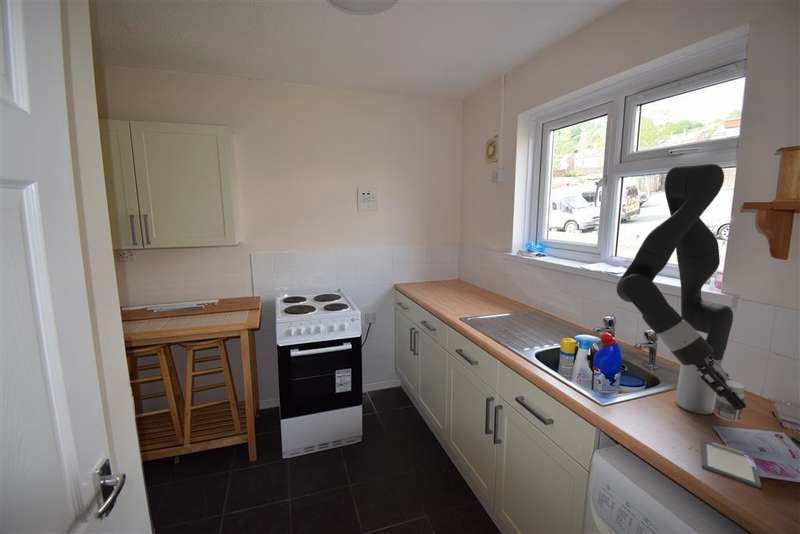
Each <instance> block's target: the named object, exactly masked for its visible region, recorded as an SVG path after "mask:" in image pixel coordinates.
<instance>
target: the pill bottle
mask: <svg viewBox="0 0 800 534" xmlns="http://www.w3.org/2000/svg"><path fill="white" fill-rule="evenodd" d="M727 384H728V385H729V386H730V387H731V388H732V389H733V391H734V392H735V393H736V394H737V395H738V397H739V398H740V399H741V400H742V401H743V402H744V403H745V394H744V392H745V386H744V385H743V384H742V383H740V382H737V381H734V380H731V381H730V380H727ZM719 388H720V390H723V389H724V388H723V387H722V386H721V387H719ZM713 413H714V414H715V415H716V416H717V417H719V418H720V419H723V420H725V421H731V422H740V420H741V419H742V413H743V409H740V410H736V409H735V408H734V407H733V406H732V405H731V404H730V403H729V402H728V401H727V400H726V398H725V397H724V396H722V397H720V396H718V395H717V394H716V400H715V405H714V411H713Z"/></svg>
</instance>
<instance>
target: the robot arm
mask: <svg viewBox="0 0 800 534" xmlns="http://www.w3.org/2000/svg"><path fill="white" fill-rule="evenodd" d="M724 182H725V172H724V170H723V168H722V166H720V165H719V164H715V163H701V164H683V165H682V164H681V165H676V166H675V165H674V167H673V166H672V168H670V169H669V170H668V172H667V173H666V174H665V179H664V183H663V184H664V195H665V198H666V199H665V200H666V202H667V206H668V210H669V213H670V216H669V217H668V218H667V219H666V220H664V221H663V222H660V224H659V225H657V226H656V227H655V228H654V229H652V230H651V231H650V232H649V233H648V235H647V236H646V237H645V239H644V240H643V242H642V244H641V245H640V247H639V248H638V250H637V251H636V254H635V257H634V259H633V260H632V262H631V263H630V265H629V266H628V268H627V269H626V270H625V272H624V273H623V275H622V276H621V278H620V279H619V281H618V283H617V285H616V292H617V295H618V297H619V298H620V299H621V300H622V301H624V302H628V303H632V304H633V305H634V306H635V308H637V310H638V312H639V313H641V317H642V320H644V322H645V323H646V324H647V326H648V327H649V328H650V329H651V330H652V331H653V332H654V334H656V335H657V337H658V338H659V340H660V341H661V343H662V344H663V345H664V346H665V347H666V348H667V349H668V350H669V351H670V353H671V354H672V355H673V356H674V357H675V359H677V361H679V363H680V368H679V374H678V375H679V376H678V380H677V388H676V393H675V399H674V400H675V401H674V402H675V404H676V405H677V406H679V407H680V408H682V409H684V410H686V411H689V412H692V413H695V414H699V415H711V414H713V413H714V408H715V403H716V397H717V395H718V396H720V397H722V396H724V397H725V398H726V400H727V401H728V402H729V403H730V404H731V405H732V406H733V407H734V408H735V409H736V410H740V409H742V410H743V409H746V407H747V405H746V403H745V401H744V402H743V401H742V400H741V399H740V398H739V397H738V395H737V394H736V393H735V392H734V391H733V389H732V388H731V387H730V386H729V385H728V384H727V380H730V381H732V379H731V377H730V376H729V373H727V372H726V370H724V368H722V365H723V360H724V354H725V353H726V349H727V346H728V342H729V341H728V340H729V336H730V332H731V329H732V326H733V322H734V313H733V310H732V308H731V307H729V306H727V305H724V304H720V303H716V302H715V303H714V302H710V301H706V300H703V299H702V288H703V287H704V285H705V284H706V283H707V281H708V280H710V278H711V277H712V276H713V275H714V274H715V273H716V271H717V270H718V268H719V266H720V262H721V261H720V260H721V258H720V247H719V241H718V239H717V237H716V235H715V234H714V233H713V231H712V230H711V229H710V228H709V227H708V225H706V223H705V222H704V221H703V220H702V219H701V218H700V217H701V216H702V215H703V214H704V212H705V211H706V210H707V208H709V206H710V205H711V204H712V202H713V201H714V200H715V199H716V197H717V196H718V194H719V193H720V192H721V189H722V187H723V186H724ZM674 252H675V253H676V259H677V266H678V273H679V279H680V281H679V282H680V313H681V315H680V314H679V312H678V311H677V310H675V309H674V307H673V306H671V305H670V304H669V303H668V301H667V299H666V297H665V295H663V293H662V292H661V291H660V289H659V288H658V286H657V285H656V284H655V283H654V281H655V278H656V277H657V275H658V274H659V273H661V271H663V270H664V268H665V267H666V266H667V265H668V262H669V261H670V259H671V257H672V255H673V253H674ZM699 332H701V333H703V334H704V333H705V334H707V336H706V339H705V338H704V337H703V336H702V335H701V334H700V333H699ZM721 386H722V387H723V388H724V389H723V390H720V387H721Z"/></svg>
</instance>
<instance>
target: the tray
mask: <svg viewBox="0 0 800 534" xmlns="http://www.w3.org/2000/svg"><path fill="white" fill-rule="evenodd" d="M700 445H701V446H700V447H701V449H700V450H701V452H700V453H701V468H702V469H705V470H708V471H711V472H714V473H716V474H719V475H722V476H723V477H724V476H725V477H727V478H730V479H732V480H736V481H739V482H741V483H744V484H748V485H750V486H753V487H756V488H759V489H762V482H761V478H760V474H759V471H758V469H757V470H756V469H755V467H754V466H753V467H752V466H751V465H750V462H748V461H747V457H746V456H744V455H747V454H746V453H745V451H743V450H739V449H737V448H733V447H730V446H727V445H725V444H721V443H718V442H714V441H711V442H708V441H705V440H701V442H700Z"/></svg>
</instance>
